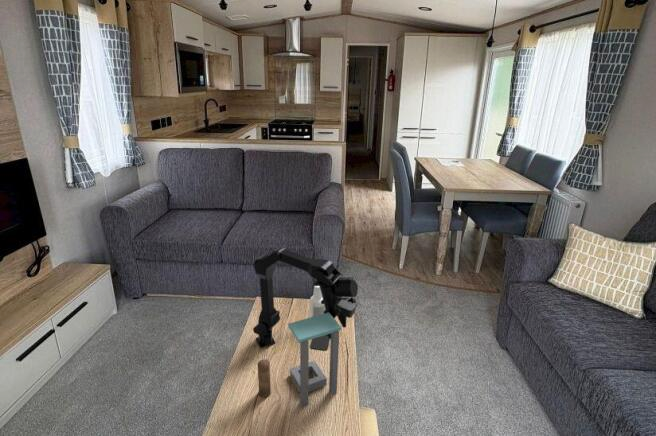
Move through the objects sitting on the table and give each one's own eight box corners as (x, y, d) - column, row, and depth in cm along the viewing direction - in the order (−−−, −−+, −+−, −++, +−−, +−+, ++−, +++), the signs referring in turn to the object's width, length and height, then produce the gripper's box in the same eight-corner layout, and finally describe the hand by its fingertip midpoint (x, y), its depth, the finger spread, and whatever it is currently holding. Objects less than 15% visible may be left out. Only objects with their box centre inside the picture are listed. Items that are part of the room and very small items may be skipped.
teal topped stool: (289, 387, 135) (288, 323, 125) (326, 374, 141) (328, 312, 132) (300, 407, 127) (299, 340, 117) (339, 392, 133) (342, 327, 124)
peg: (257, 391, 133) (256, 361, 128) (268, 387, 135) (267, 357, 130) (261, 399, 130) (259, 369, 125) (272, 395, 131) (271, 365, 127)
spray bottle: (319, 326, 168) (320, 291, 161) (307, 321, 171) (307, 286, 165) (327, 318, 173) (328, 284, 167) (315, 313, 177) (315, 279, 170)
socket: (290, 375, 140) (289, 368, 139) (314, 366, 145) (314, 360, 144) (300, 394, 132) (300, 387, 131) (326, 384, 136) (326, 378, 135)
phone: (309, 347, 154) (316, 325, 168) (309, 349, 154) (316, 326, 168) (327, 350, 153) (332, 326, 167) (327, 351, 153) (332, 328, 167)
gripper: (339, 309, 123) (349, 351, 127) (360, 283, 139) (368, 321, 142) (310, 308, 129) (320, 348, 132) (333, 283, 144) (342, 320, 148)
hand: (339, 334), depth 139 cm, fingers open, 9 cm apart
